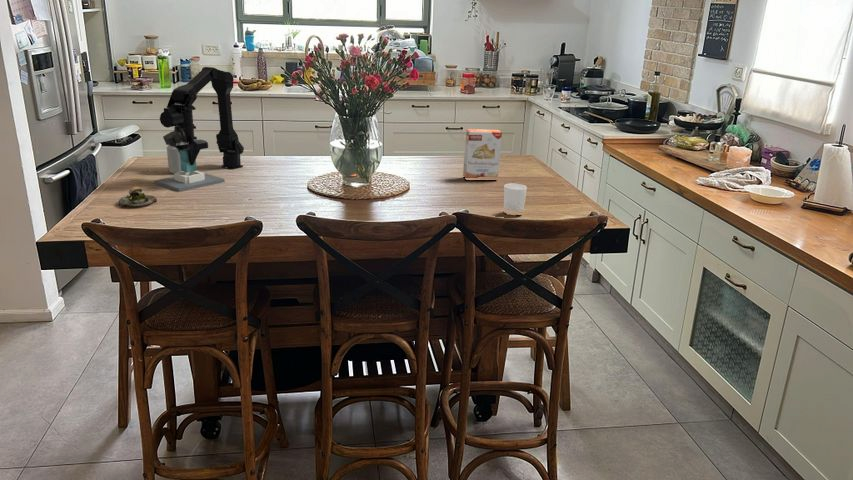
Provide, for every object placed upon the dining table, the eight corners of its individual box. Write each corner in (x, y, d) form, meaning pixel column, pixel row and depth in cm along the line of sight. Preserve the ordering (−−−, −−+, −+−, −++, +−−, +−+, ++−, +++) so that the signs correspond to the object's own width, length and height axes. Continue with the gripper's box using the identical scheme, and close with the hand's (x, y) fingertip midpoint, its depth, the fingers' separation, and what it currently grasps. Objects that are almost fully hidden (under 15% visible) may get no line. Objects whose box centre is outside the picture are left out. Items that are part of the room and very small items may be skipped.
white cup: (500, 209, 238) (502, 183, 235) (521, 210, 239) (524, 183, 236) (504, 216, 231) (506, 189, 228) (526, 217, 232) (529, 189, 228)
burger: (118, 210, 220) (116, 189, 217) (119, 200, 230) (116, 179, 227) (157, 208, 224) (155, 186, 222) (156, 198, 234) (154, 177, 232)
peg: (190, 168, 255) (188, 148, 252) (196, 170, 253) (195, 150, 250) (181, 170, 252) (179, 150, 249) (187, 172, 250) (185, 151, 247)
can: (191, 170, 271) (189, 141, 267) (183, 175, 264) (181, 145, 260) (174, 169, 271) (171, 140, 267) (165, 174, 264) (162, 144, 260)
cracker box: (465, 181, 274) (468, 131, 267) (462, 177, 280) (465, 128, 273) (498, 181, 277) (502, 131, 269) (494, 177, 282) (498, 129, 275)
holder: (199, 174, 266) (198, 165, 265) (224, 181, 257) (224, 172, 256) (154, 183, 251) (153, 174, 250) (179, 191, 242) (178, 182, 241)
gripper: (151, 122, 245) (155, 163, 251) (181, 129, 235) (184, 172, 240) (177, 118, 254) (181, 158, 259) (207, 125, 244) (210, 167, 249)
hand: (188, 164), depth 252 cm, fingers closed on peg, 4 cm apart
